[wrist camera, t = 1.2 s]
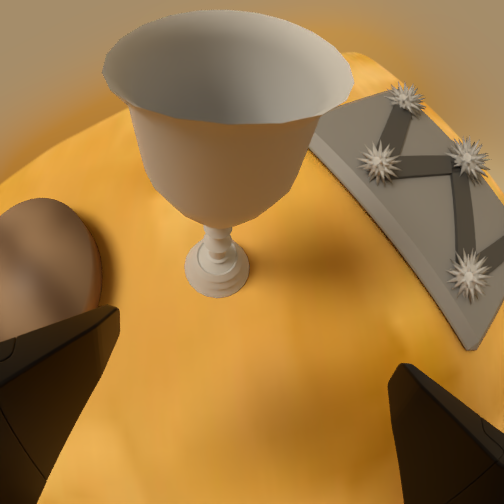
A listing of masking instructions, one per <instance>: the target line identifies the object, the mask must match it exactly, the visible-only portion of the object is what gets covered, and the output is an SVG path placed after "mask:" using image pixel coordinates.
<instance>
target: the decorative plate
mask: <svg viewBox="0 0 504 504" xmlns="http://www.w3.org/2000/svg"><path fill="white" fill-rule="evenodd" d="M398 85H399V87H398V89H396V88H394V87H393V86H392V85H391V86H392V87H393V88H392V87H391V88H392V90H388V89H387V90H388V91H385V92H381V93H378V94H375V95H371V96H368V97H365V98H362V99H359V100H356V101H353V102H350V103H347V104H344V105H341V106H338V107H335V108H333V109H332V110H330V111H329V112H327V113H326V114H324V115H323V116H321V117H320V119H319V122H318V124H317V127H316V129H315V132H314V134H313V137H312V139H311V142H310V145H309V147H308V148H309V149H310V150H311V151H312V152H313V153H314V154H315V155H316V156H317V157H318V158H319V159H320V160H321V161H322V162H323V163H324V164H325V166H326V167H327V168H328V169H329V170H330V171H331V172H332V173H333V174H334V175H335V176H336V177H337V178H338V179H339V181H340V182H341V183H342V184H343V185H344V186H345V187H346V188H347V189H348V191H349V192H350V193H351V194H352V195H353V196H354V197H355V198H356V200H357V201H358V202H359V203H360V204H361V205H362V207H363V208H364V209H365V210H366V211H367V212H368V214H369V215H370V216H371V217H372V218H373V220H374V221H375V222H376V223H377V224H378V226H379V227H380V228H381V229H382V230H383V232H384V233H385V234H386V235H387V237H388V238H389V239H390V240H391V242H392V243H393V244H394V246H395V247H396V248H397V249H398V251H399V252H400V253H401V255H402V256H403V257H404V259H405V260H406V261H407V263H408V264H409V265H410V267H411V268H412V269H413V271H414V272H415V273H416V275H417V276H418V277H419V279H420V280H421V282H422V283H423V284H424V286H425V287H426V289H427V290H428V292H429V293H430V294H431V296H432V297H433V299H434V300H435V302H436V303H437V305H438V306H439V308H440V309H441V311H442V312H443V314H444V315H445V317H446V318H447V320H448V322H449V323H450V325H451V326H452V328H453V329H454V331H455V333H456V334H457V336H458V337H459V339H460V341H461V342H462V344H463V346H464V347H465V349H466V350H477V348H478V347H479V345H480V343H481V342H482V340H483V338H484V336H485V335H486V333H487V331H488V329H489V328H490V326H491V324H492V322H493V320H494V318H495V316H496V314H497V313H498V311H499V309H500V307H501V305H502V303H503V300H504V206H503V204H502V203H501V201H500V200H499V199H498V197H497V196H496V194H495V193H494V192H493V190H492V189H491V188H490V186H489V185H488V184H487V182H486V181H485V180H484V178H483V177H482V176H481V174H483V175H484V176H486V177H487V175H486V174H485V173H484V172H483V171H482V170H481V169H484V170H487V169H488V170H490V169H489V168H487V167H485V166H484V165H482V164H484V161H487V160H490V159H481V158H484V157H486V156H487V155H486V154H487V153H485V154H479V155H477V154H478V152H479V150H480V149H481V147H482V146H481V145H482V144H481V145H480V146H479V147H478V148H477V149H476V146H477V144H478V142H477V143H476V144H475V142H474V143H473V145H472V147H471V144H470V137H469V140H468V139H467V140H466V144H465V140H464V138H463V145H462V143H461V141H460V140H459V143H460V145H459V144H458V143H457V141H456V140H455V139H454V140H455V142H456V143H455V142H454V141H453V140H451V139H450V138H449V137H448V136H447V135H446V134H445V133H444V132H443V131H442V130H441V129H440V128H439V127H438V126H437V125H436V124H435V123H434V122H433V121H432V120H431V119H430V118H429V117H428V116H427V115H426V114H425V113H424V112H423V111H422V110H421V109H424V108H422V107H425V106H423V105H420V104H418V103H421V102H423V101H420V100H423V99H424V98H421V99H418V98H420V97H421V96H422V95H420V94H418V95H415V93H416V91H417V89H416V90H415V91H414V88H412V87H413V85H412V86H411V88H410V89H409V90H408V87H407V88H406V83H405V84H404V91H403V90H402V88H401V86H400V84H399V82H398ZM419 95H420V96H419ZM458 139H459V138H458ZM452 141H453V142H452ZM456 144H457V145H456ZM474 144H475V145H474ZM475 149H476V150H475ZM484 155H485V156H484ZM480 173H481V174H480Z"/></svg>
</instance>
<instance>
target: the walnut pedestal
mask: <svg viewBox="0 0 504 504" xmlns="http://www.w3.org/2000/svg"><path fill="white" fill-rule="evenodd" d="M101 289H102V264H101V257H100V254H99V250H98V247H97V244H96V242H95V240H94V238H93V236H92V235H91V233H90V231H89V230H88V229H87V228H86V226H85V225H84V224H83V222H82V221H81V220H80V218H79V217H78V216H77V215H76V213H75V212H74V211H73V210H72V209H71V208H69V207H68V206H67V205H65V204H63V203H62V202H59V201H57V200H54V199H49V198H36V199H30V200H27V201H24V202H21V203H19V204H17V205H15V206H13V207H12V208H10V209H9V210H7V211H6V212H5V213H3V214H2V215H1V216H0V342H2V341H5V340H8V339H10V338H13V337H16V338H17V336H19V335H22V334H25V333H27V332H30V331H33V330H36V329H39V328H42V327H44V326H47V325H50V324H53V323H56V322H58V321H61V320H64V319H67V318H70V317H73V316H75V315H78V314H81V313H84V312H87V311H89V310H92V309H95V308H97V307H98V303H99V300H100V295H101Z"/></svg>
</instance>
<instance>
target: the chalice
mask: <svg viewBox="0 0 504 504" xmlns="http://www.w3.org/2000/svg"><path fill="white" fill-rule="evenodd" d="M102 74H103V76H104V78H105V80H106V82H107V84H108V86H109V88H110V90H111V91H112V92H113V93H114V94H115V95H116V96H118V97H119V98H120V99H121V100H122V101H123V102H124V103H126V104H127V105H128V106H129V110H130V114H131V118H132V122H133V127H134V131H135V134H136V138H137V142H138V146H139V150H140V154H141V157H142V161H143V164H144V168H145V171H146V173H147V175H148V177H149V179H150V181H151V183H152V185H153V187H154V188H155V189H156V190H157V191H158V192H159V193H160V194H161V195H162V196H163V197H164V198H165V199H166V200H167V201H169V202H170V203H171V204H172V205H173V206H174V207H175V208H176V209H177V210H178V211H180V212H181V213H182V214H183V215H184V216H186V217H188V218H190V219H192V220H194V221H196V222H199V223H201V224H203V225H204V231H205V232H206V234H205V235H204V239H202V240H201V241H200V242H198V243H197V244H196V245H195V246H194V247H192V248H191V250H190V251H189V253H188V255H187V257H186V261H185V274H186V277H187V279H188V281H189V283H190V285H191V286H192V287H193V288H194V289H195V290H196V291H197V292H199V293H201V294H203V295H205V296H208V297H214V298H221V297H227V296H230V295H232V294H234V293H236V292H237V291H238V290H239V289H240V288H241V287H242V286H243V285H244V284H245V282H246V280H247V278H248V275H249V267H250V266H249V261H248V257H247V255H246V254H245V252H244V250H243V249H242V248H241V247H240V246H239V245H238V244H237V243H236V242H234V241H233V240H232V238H231V236H230V233H231V231H232V227H233V226H236V225H239V224H242V223H244V222H247V221H249V220H252V219H254V218H256V217H258V216H259V215H260V214H262V213H263V212H264V211H266V210H267V209H268V208H270V207H271V206H272V205H274V204H275V203H276V202H277V201H278V200H280V199H281V198H282V197H283V196H284V195H286V194H287V193H288V192H289V191H290V189H291V187H292V185H293V183H294V181H295V179H296V177H297V175H298V172H299V170H300V167H301V165H302V162H303V160H304V157H305V155H306V152H307V150H308V147H309V145H310V142H311V139H312V137H313V134H314V132H315V129H316V127H317V124H318V122H319V119H320V117H321V116H323V115H324V114H326V113H327V112H329V111H330V110H332V109H333V108H335V107H337V106H338V105H340V104H341V103H343V102H345V101H346V100H347V98H348V96H349V94H350V91H351V89H352V87H353V85H354V79H353V76H352V72H351V69H350V65H349V63H348V62H347V61H346V60H345V59H344V57H343V56H342V55H341V54H340V53H339V52H338V50H337V49H336V48H335V47H334V46H333V45H331V44H330V43H328V42H327V41H325V40H324V39H322V38H321V37H319V36H318V35H316V34H315V33H313V32H312V31H309V30H307V29H305V28H303V27H300V26H298V25H296V24H293V23H291V22H289V21H286V20H282V19H279V18H275V17H271V16H268V15H264V14H259V13H253V12H244V11H236V10H200V11H193V12H187V13H181V14H175V15H170V16H167V17H164V18H161V19H158V20H156V21H153V22H150V23H147V24H144V25H142V26H140V27H139V28H137V29H135V30H134V31H132V32H130V33H129V34H127V35H125V36H124V37H122V38H121V39H120V40H119V41H118V42H117V43H116V44H115V46H114V47H113V48H112V49H111V50H110V51H109V52H108V53H107V55H106V58H105V62H104V66H103V70H102Z"/></svg>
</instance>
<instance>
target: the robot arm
mask: <svg viewBox="0 0 504 504" xmlns="http://www.w3.org/2000/svg"><path fill="white" fill-rule="evenodd" d="M119 334H120V311H119V309H118V308H117V307H114V306H111V305H103V306H101V307H98V308H95V309H92V310H89V311H87V312H84V313H81V314H78V315H75V316H73V317H70V318H67V319H64V320H61V321H58V322H56V323H53V324H50V325H47V326H44V327H42V328H39V329H36V330H33V331H30V332H27V333H25V334H22V335H19V336H17V338H16V337H13V338H10V339H8V340H5V341H2V342H0V504H37V502H38V500H39V497H40V495H41V493H42V491H43V488H44V486H45V484H46V482H47V481H46V480H47V479H48V477H49V475H50V473H51V471H52V469H53V467H54V465H55V463H56V461H57V458H58V456H59V454H60V452H61V450H62V448H63V446H64V444H65V442H66V441H67V439H68V437H69V435H70V433H71V431H72V429H73V427H74V425H75V423H76V421H77V419H78V418H79V416H80V414H81V412H82V410H83V408H84V407H85V405H86V403H87V401H88V399H89V397H90V396H91V394H92V392H93V390H94V389H95V387H96V385H97V383H98V381H99V380H100V378H101V376H102V374H103V372H104V369H105V367H106V365H107V362H108V360H109V358H110V355H111V353H112V351H113V348H114V346H115V344H116V342H117V339H118V337H119ZM388 395H389V404H390V414H391V423H392V430H393V435H394V440H395V446H396V451H397V457H398V463H399V470H400V476H401V483H402V491H403V499H404V504H504V433H502V432H501V431H500V430H498V429H497V428H495V427H494V426H493V425H491V424H490V423H489V422H487V421H486V420H485V419H483V418H482V417H480V416H479V415H478V414H477V413H475V412H474V411H473V410H471V409H470V408H469V407H468V406H466V405H465V404H464V403H462V402H461V401H460V400H458V399H457V398H456V397H454V396H453V395H452V394H451V393H449V392H448V391H447V390H445V389H444V388H443V387H441V386H440V385H439V384H437V383H436V382H435V381H433V380H432V379H431V378H429V377H428V376H427V375H425V374H424V373H423V372H422V371H420V370H419V369H418V368H416V367H415V366H414V365H412V364H409V363H401V364H399V365H398V367H397V368H396V370H395V372H394V373H393V375H392V377H391V378H390V380H389V382H388Z"/></svg>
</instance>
